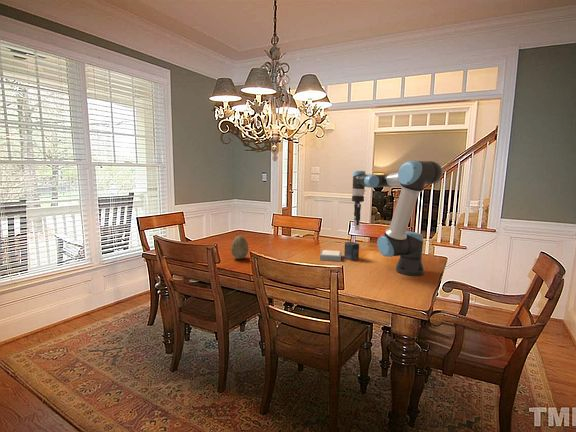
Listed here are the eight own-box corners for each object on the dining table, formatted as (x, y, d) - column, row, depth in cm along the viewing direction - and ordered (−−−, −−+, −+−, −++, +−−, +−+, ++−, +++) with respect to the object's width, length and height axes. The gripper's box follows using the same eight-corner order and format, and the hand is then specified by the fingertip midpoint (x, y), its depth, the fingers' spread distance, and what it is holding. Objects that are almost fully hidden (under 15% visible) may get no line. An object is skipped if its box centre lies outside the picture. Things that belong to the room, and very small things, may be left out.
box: (358, 259, 213) (359, 243, 211) (351, 261, 210) (352, 244, 209) (350, 256, 220) (351, 241, 218) (343, 257, 217) (344, 242, 215)
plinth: (340, 261, 209) (340, 256, 208) (319, 259, 211) (320, 254, 211) (341, 255, 222) (341, 250, 221) (321, 254, 224) (321, 249, 223)
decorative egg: (251, 259, 210) (251, 236, 207) (236, 262, 203) (236, 238, 200) (242, 255, 218) (242, 233, 215) (227, 258, 211) (227, 235, 209)
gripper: (366, 197, 199) (364, 232, 203) (362, 193, 224) (360, 224, 227) (353, 197, 200) (351, 231, 204) (351, 193, 225) (349, 224, 228)
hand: (356, 228), depth 215 cm, fingers open, 13 cm apart
